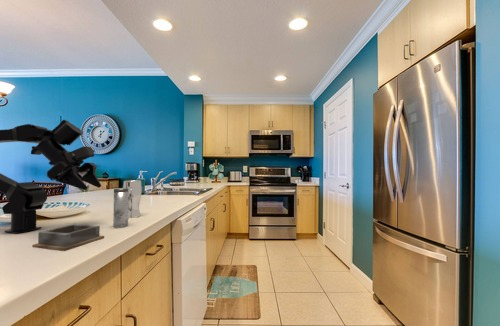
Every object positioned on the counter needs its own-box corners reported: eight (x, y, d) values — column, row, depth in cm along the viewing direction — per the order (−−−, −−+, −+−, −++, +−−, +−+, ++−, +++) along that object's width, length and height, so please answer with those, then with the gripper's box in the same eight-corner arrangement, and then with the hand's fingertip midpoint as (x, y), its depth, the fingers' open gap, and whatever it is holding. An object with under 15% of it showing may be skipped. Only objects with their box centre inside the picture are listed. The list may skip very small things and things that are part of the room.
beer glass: (133, 218, 93) (134, 181, 94) (118, 217, 95) (119, 181, 95) (144, 215, 100) (145, 180, 101) (130, 214, 102) (131, 180, 102)
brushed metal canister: (110, 227, 79) (110, 189, 79) (120, 224, 83) (121, 188, 84) (120, 228, 78) (121, 189, 78) (131, 225, 82) (131, 188, 82)
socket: (32, 247, 59) (32, 232, 59) (75, 235, 70) (75, 223, 70) (64, 251, 56) (64, 236, 56) (104, 238, 67) (104, 225, 67)
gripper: (58, 134, 69) (98, 171, 70) (91, 141, 87) (122, 170, 89) (28, 160, 67) (69, 197, 69) (68, 162, 86) (100, 191, 87)
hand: (93, 187), depth 78 cm, fingers open, 9 cm apart
